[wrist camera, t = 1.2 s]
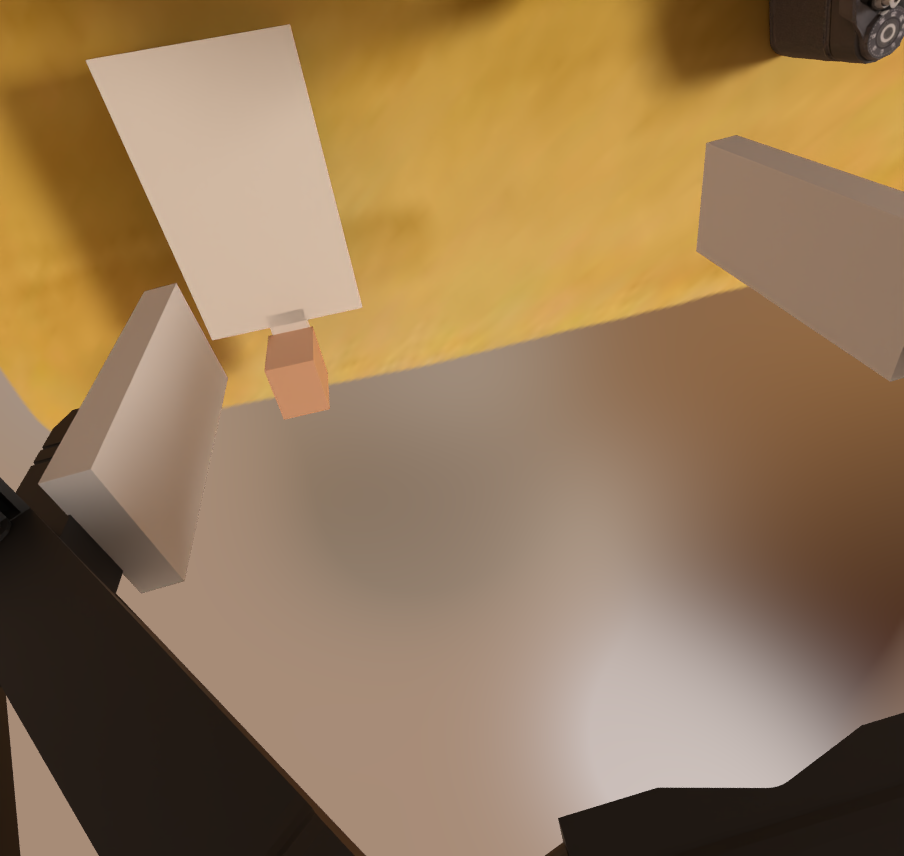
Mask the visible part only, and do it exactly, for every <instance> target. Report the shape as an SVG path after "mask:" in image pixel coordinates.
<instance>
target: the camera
mask: <svg viewBox="0 0 904 856" xmlns="http://www.w3.org/2000/svg"><path fill="white" fill-rule="evenodd" d="M769 6H770V44H771V47H772V49H773V50H774V51H775V52H776V53H777V54H780V55H783V56H787V57H793V58H805V59H816V60H823V61H842V62H849V63H864V64H867V63H871V62H876V61H878V60H880V59H881V58H883V57H885V56H887V55H889V54H891V53H892V52H893V51H894V50H895V49H897V48H898V47H899V46H900V42H901V40H902V38H903V37H904V0H770V1H769Z"/></svg>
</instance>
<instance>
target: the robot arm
mask: <svg viewBox="0 0 904 856" xmlns="http://www.w3.org/2000/svg"><path fill="white" fill-rule="evenodd" d="M696 251H697V252H698V253H700V254H701V255H703V256H704V257H706V258H707V259H709V260H710V261H712V262H713V263H715V264H716V265H718V266H719V267H721V268H722V269H724V270H725V271H727V272H728V273H730V274H731V275H733V276H734V277H736V278H737V279H739V280H740V281H741V282H743V283H744V284H746V285H747V286H749V287H750V288H752V289H753V290H755V291H757V292H758V293H759V294H761V295H762V296H764V297H765V298H767V299H768V300H770V301H771V302H773V303H774V304H776V305H777V306H779V307H780V308H782V309H783V310H785V311H786V312H788V313H789V314H791V315H792V316H793V317H795V318H796V319H798V320H799V321H801V322H802V323H804V324H805V325H807V326H808V327H810V328H811V329H813V330H814V331H816V332H817V333H819V334H820V335H822V336H823V337H825V338H826V339H828V340H829V341H831V342H832V343H834V344H835V345H837V346H838V347H840V348H841V349H843V350H844V351H846V352H847V353H848V354H850V355H851V356H853V357H855V358H856V359H857V360H859V361H860V362H862V363H863V364H865V365H866V366H868V367H869V368H871V369H872V370H874V371H875V372H877V373H878V374H880V375H881V376H883V377H884V378H886V379H887V380H889V381H894V380H897V379H901V378H904V192H903V191H900V190H897V189H894V188H891V187H888V186H885V185H882V184H879V183H876V182H873V181H870V180H867V179H864V178H861V177H858V176H856V175H853V174H850V173H847V172H844V171H841V170H838V169H835V168H832V167H829V166H826V165H823V164H820V163H817V162H814V161H811V160H808V159H805V158H802V157H799V156H796V155H793V154H790V153H787V152H785V151H782V150H779V149H776V148H773V147H770V146H767V145H764V144H761V143H758V142H755V141H752V140H749V139H746V138H743V137H740V136H737V135H735V136H731V137H727V138H724V139H720V140H716V141H712V142H709V143H706V153H705V164H704V175H703V185H702V196H701V207H700V218H699V229H698V239H697V250H696ZM227 380H228V377H227V376H226V374H225V372H224V370H223V368H222V366H221V365H220V363H219V361H218V359H217V357H216V355H215V353H214V352H213V350H212V348H211V346H210V344H209V342H208V341H207V339H206V337H205V335H204V333H203V331H202V329H201V328H200V326H199V324H198V322H197V320H196V318H195V317H194V315H193V313H192V311H191V309H190V307H189V305H188V304H187V302H186V300H185V298H184V296H183V294H182V293H181V291H180V289H179V287H178V285H177V283H174V284H171V285H167V286H163V287H159V288H155V289H152V290H148V291H144V293H143V295H142V296H141V298H140V300H139V302H138V304H137V305H136V307H135V309H134V311H133V313H132V315H131V316H130V318H129V320H128V322H127V324H126V325H125V327H124V329H123V331H122V333H121V334H120V336H119V338H118V340H117V342H116V343H115V345H114V347H113V349H112V351H111V352H110V354H109V356H108V358H107V360H106V362H105V363H104V365H103V367H102V369H101V371H100V372H99V374H98V376H97V378H96V380H95V381H94V383H93V385H92V387H91V389H90V390H89V392H88V394H87V396H86V398H85V399H84V401H83V403H82V405H81V407H80V408H79V409H75V410H72V411H71V412H70V413H69V414H68V415H67V416H66V417H65V418H64V419H63V420H62V421H61V422H60V423H59V424H58V425H57V426H55V427H54V428H53V430H52V431H51V433H50V435H49V437H48V438H47V440H46V442H45V443H44V445H43V450H41V451H40V452H39V454H38V455H37V457H36V459H35V460H34V464H35V465H33V466H31V467H30V469H29V471H28V472H27V474H26V476H25V478H24V479H23V481H22V482H21V484H20V486H19V488H18V489H17V491H16V493H15V492H14V491H13V490H12V489H11V488H10V487H9V486H8V485H7V484H6V483H5V482H4V481H3V480H2V479H1V478H0V856H20V847H19V836H18V824H17V813H16V802H15V791H14V781H13V770H12V759H11V747H10V736H9V726H8V714H7V703H6V696H7V697H8V699H9V700H10V703H11V704H12V706H13V708H14V709H15V711H16V713H17V715H18V716H19V718H20V720H21V722H22V723H23V725H24V727H25V728H26V730H27V732H28V734H29V735H30V737H31V739H32V740H33V742H34V744H35V746H36V748H37V749H38V751H39V753H40V755H41V756H42V758H43V760H44V762H45V763H46V765H47V766H48V768H49V770H50V772H51V774H52V775H53V777H54V779H55V781H56V782H57V784H58V786H59V788H60V789H61V791H62V793H63V794H64V796H65V798H66V800H67V801H68V803H69V805H70V807H71V808H72V810H73V812H74V814H75V815H76V817H77V819H78V820H79V822H80V824H81V826H82V827H83V829H84V831H85V833H86V834H87V836H88V838H89V839H90V841H91V843H92V845H93V846H94V848H95V850H96V851H97V853H98V855H99V856H366V855H365V854H364V853H363V852H362V851H361V850H360V849H359V848H358V847H357V846H356V845H355V844H354V843H353V842H352V841H351V840H350V839H349V838H348V837H347V836H346V834H344V832H343V831H342V830H341V829H340V828H339V827H338V826H337V825H336V824H335V823H334V822H333V821H332V820H331V819H330V818H329V817H328V816H327V814H325V812H324V811H323V810H322V809H321V808H320V807H319V806H318V805H317V804H316V803H315V802H314V801H313V800H312V799H311V798H310V797H309V796H308V795H307V793H306V792H304V790H303V789H302V788H301V787H300V786H299V785H298V784H297V783H296V782H295V781H294V780H293V779H292V778H291V777H290V776H289V775H288V774H287V772H286V771H285V770H284V769H283V768H282V767H281V766H280V765H279V764H278V763H277V762H276V761H275V760H274V759H273V758H272V757H271V756H270V755H269V754H268V753H267V752H266V751H265V749H264V748H263V747H262V746H261V745H260V744H259V743H258V742H257V741H256V740H255V739H254V738H253V737H252V736H251V735H250V734H249V733H248V732H247V731H246V729H245V728H244V727H243V726H242V725H241V724H240V723H239V722H238V721H237V720H236V719H235V718H234V717H233V716H232V715H231V714H230V713H229V712H228V711H227V709H226V708H225V707H224V706H223V705H222V704H221V703H220V702H219V701H218V700H217V699H216V698H215V697H214V696H213V695H212V694H211V693H210V692H209V691H208V690H207V689H206V687H205V686H204V685H203V684H202V683H201V682H200V681H199V680H198V679H197V678H196V677H195V676H194V675H193V674H192V673H191V672H190V671H189V670H188V668H186V667H185V665H184V664H183V663H182V662H181V661H180V660H179V659H178V658H177V657H176V656H175V655H174V654H173V653H172V652H171V651H170V650H169V649H168V647H167V646H166V645H165V644H164V643H163V642H162V641H161V640H160V639H159V638H158V637H157V636H156V635H155V634H154V633H153V632H152V631H151V630H150V629H149V628H148V626H147V625H146V624H145V623H144V622H143V621H142V620H141V619H140V618H139V617H138V616H137V615H136V614H135V613H134V612H133V611H132V610H131V609H130V608H129V607H128V606H127V604H126V603H125V602H124V601H123V600H122V599H121V598H120V597H119V596H118V595H117V594H116V591H117V588H118V585H119V582H120V579H121V576H122V574H123V575H124V576H125V577H126V578H127V579H128V580H129V581H130V582H131V583H132V584H133V585H134V586H135V587H136V588H137V589H138V590H139V592H140V593H145V592H148V591H152V590H155V589H158V588H162V587H166V586H169V585H173V584H176V583H180V582H183V581H185V576H186V571H187V567H188V562H189V558H190V553H191V548H192V543H193V539H194V534H195V530H196V525H197V520H198V515H199V511H200V506H201V501H202V496H203V492H204V487H205V483H206V478H207V473H208V469H209V464H210V459H211V454H212V450H213V445H214V440H215V436H216V431H217V426H218V422H219V417H220V412H221V408H222V403H223V398H224V394H225V389H226V384H227ZM558 820H559V824H560V829H561V834H562V838H563V843H562V844H560V845H559V846H558V847H556V848H555V849H553V850H552V851H551V852H549V853H548V854H547V855H545V856H904V713H901V714H898V715H895V716H891V717H888V718H885V719H882V720H878V721H875V722H872V723H868V724H865V725H862V726H860V727H859V728H858V729H856V730H855V731H854V732H853V733H851V734H850V735H849V736H847V737H846V738H845V739H843V740H842V741H841V742H839V743H838V744H837V745H835V746H834V747H833V748H831V749H830V750H829V751H827V752H826V753H825V754H824V755H822V756H821V757H820V758H818V759H817V760H816V761H814V762H813V763H812V764H810V765H809V766H808V767H806V768H805V769H804V770H803V771H801V772H800V773H799V774H797V775H796V776H795V777H793V778H792V779H791V780H789V781H788V782H786V783H785V784H783V785H780V786H778V787H773V788H655V789H652V790H649V791H645V792H642V793H639V794H636V795H632V796H629V797H626V798H623V799H619V800H616V801H613V802H609V803H607V804H603V805H600V806H596V807H593V808H590V809H586V810H583V811H580V812H577V813H573V814H570V815H567V816H564V817H561V818H558Z"/></svg>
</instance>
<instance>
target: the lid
mask: <svg viewBox="0 0 904 856" xmlns="http://www.w3.org/2000/svg"><path fill="white" fill-rule="evenodd" d="M86 62H87V65H88V67H89V69H90V71H91V73H92V76H93V78H94V80H95V82H96V85H97V87H98V89H99V91H100V93H101V96H102V98H103V100H104V102H105V104H106V107H107V109H108V111H109V113H110V115H111V118H112V120H113V122H114V124H115V126H116V129H117V131H118V133H119V135H120V138H121V140H122V142H123V144H124V146H125V149H126V151H127V153H128V155H129V157H130V160H131V162H132V164H133V166H134V168H135V171H136V173H137V175H138V177H139V179H140V182H141V184H142V186H143V188H144V191H145V193H146V195H147V197H148V199H149V202H150V204H151V206H152V208H153V210H154V213H155V215H156V217H157V219H158V221H159V224H160V226H161V228H162V230H163V232H164V235H165V237H166V239H167V241H168V244H169V246H170V248H171V250H172V252H173V255H174V257H175V259H176V261H177V263H178V266H179V268H180V270H181V272H182V274H183V277H184V279H185V281H186V283H187V286H188V288H189V290H190V292H191V294H192V297H193V299H194V301H195V303H196V305H197V308H198V310H199V312H200V314H201V316H202V319H203V321H204V323H205V325H206V327H207V330H208V332H209V334H210V336H211V339H212V340H216V339H221V338H225V337H230V336H235V335H239V334H244V333H248V332H253V331H257V330H262V329H267V328H270V329H271V332H272V334H273V335H271V336H269V337H268V346H267V354H266V363H265V373H266V376H267V378H268V381H269V383H270V386H271V388H272V391H273V393H274V396H275V398H276V401H277V403H278V406H279V408H280V410H281V413H282V416H283V418H284V420H285V419H288V418H293V417H297V416H302V415H306V414H311V413H315V412H319V411H323V410H328V409H330V406H329V388H328V372H327V369H326V366H325V363H324V360H323V357H322V354H321V351H320V348H319V344H318V341H317V338H316V335H315V332H314V329H313V326H312V327H310V325H309V322H308V319H313V318H317V317H322V316H326V315H331V314H336V313H340V312H345V311H349V310H354V309H359V308H362V303H361V299H360V295H359V291H358V288H357V284H356V280H355V276H354V272H353V268H352V264H351V260H350V256H349V252H348V248H347V245H346V241H345V237H344V233H343V229H342V225H341V221H340V217H339V213H338V209H337V205H336V202H335V198H334V194H333V190H332V186H331V182H330V178H329V174H328V170H327V166H326V162H325V159H324V155H323V151H322V147H321V143H320V139H319V135H318V131H317V127H316V123H315V119H314V115H313V112H312V108H311V104H310V100H309V96H308V92H307V88H306V84H305V80H304V76H303V72H302V69H301V65H300V61H299V57H298V53H297V49H296V45H295V41H294V37H293V33H292V29H291V26H290V24H288V25H282V26H277V27H271V28H265V29H259V30H254V31H248V32H242V33H237V34H231V35H225V36H219V37H214V38H208V39H202V40H197V41H191V42H185V43H180V44H174V45H168V46H162V47H157V48H151V49H145V50H140V51H134V52H128V53H123V54H117V55H111V56H105V57H100V58H94V59H89V60H86Z"/></svg>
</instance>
